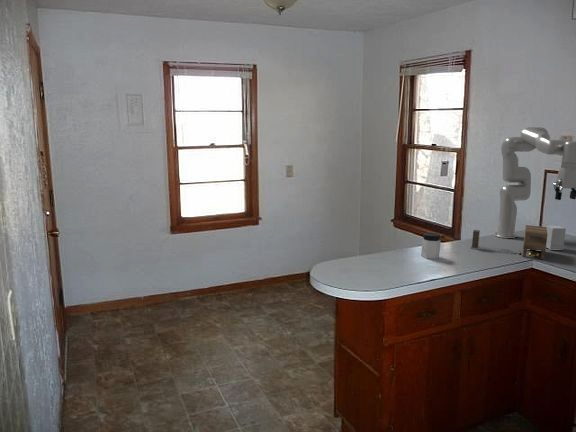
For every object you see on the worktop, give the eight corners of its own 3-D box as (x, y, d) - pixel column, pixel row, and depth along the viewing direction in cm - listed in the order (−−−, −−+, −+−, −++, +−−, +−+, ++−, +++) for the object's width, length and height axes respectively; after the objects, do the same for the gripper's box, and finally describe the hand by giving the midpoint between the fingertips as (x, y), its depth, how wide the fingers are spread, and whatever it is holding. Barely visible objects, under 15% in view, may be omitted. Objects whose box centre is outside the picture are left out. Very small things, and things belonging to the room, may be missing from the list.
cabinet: (523, 248, 270) (525, 225, 267) (543, 251, 265) (546, 227, 263) (522, 257, 253) (525, 231, 250) (544, 259, 249) (547, 234, 246)
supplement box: (563, 251, 267) (566, 228, 264) (549, 250, 267) (552, 228, 264) (556, 247, 274) (559, 225, 271) (543, 247, 274) (545, 225, 272)
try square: (471, 246, 273) (473, 229, 271) (519, 252, 262) (521, 234, 260) (470, 249, 268) (472, 231, 266) (519, 255, 258) (521, 236, 256)
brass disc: (528, 254, 260) (528, 251, 260) (538, 255, 258) (538, 252, 258) (528, 256, 256) (528, 253, 256) (538, 257, 254) (539, 254, 253)
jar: (418, 255, 254) (419, 232, 251) (431, 254, 256) (433, 231, 254) (428, 259, 245) (429, 236, 243) (442, 258, 248) (443, 235, 245)
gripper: (576, 164, 253) (571, 197, 256) (550, 165, 247) (546, 198, 251) (589, 166, 246) (584, 199, 249) (562, 166, 240) (558, 201, 244)
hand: (565, 199), depth 250 cm, fingers open, 9 cm apart
